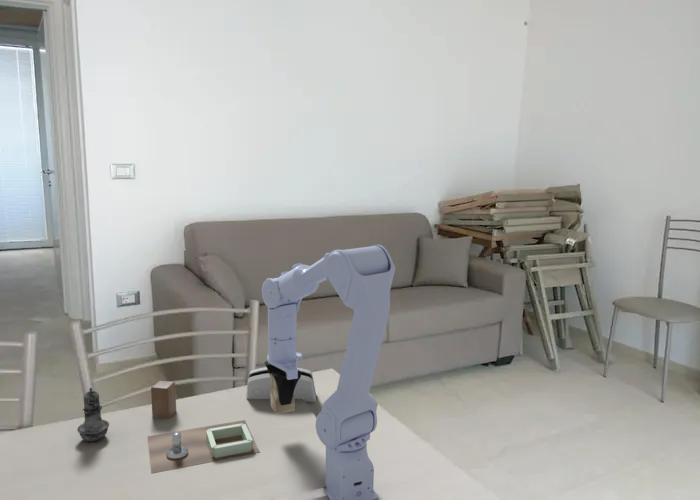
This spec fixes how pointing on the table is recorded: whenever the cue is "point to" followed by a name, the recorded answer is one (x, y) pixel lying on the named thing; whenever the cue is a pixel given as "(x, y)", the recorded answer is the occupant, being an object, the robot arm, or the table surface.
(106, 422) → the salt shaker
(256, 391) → the white rounded block
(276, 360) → the robot arm
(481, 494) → the table surface
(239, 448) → the socket collar
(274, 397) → the maple peg
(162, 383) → the wooden block
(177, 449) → the metal post
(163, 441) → the walnut board
